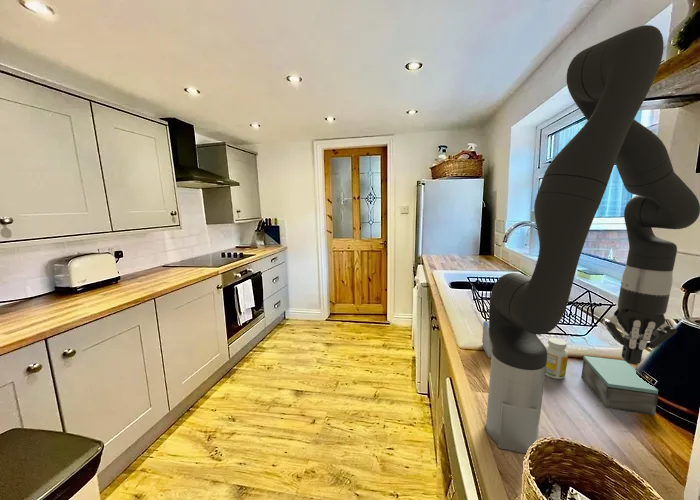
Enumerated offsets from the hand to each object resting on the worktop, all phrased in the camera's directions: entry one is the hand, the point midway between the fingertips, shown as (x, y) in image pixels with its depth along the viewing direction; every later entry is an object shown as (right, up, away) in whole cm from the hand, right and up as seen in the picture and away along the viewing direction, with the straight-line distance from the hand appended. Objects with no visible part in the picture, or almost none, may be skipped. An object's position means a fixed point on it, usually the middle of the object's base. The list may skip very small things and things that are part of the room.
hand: (630, 362), depth 66 cm
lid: (+2, -5, +5) cm, 7 cm away
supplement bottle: (-7, -9, +14) cm, 18 cm away
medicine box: (-19, -7, +26) cm, 33 cm away
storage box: (+2, -10, +6) cm, 12 cm away
